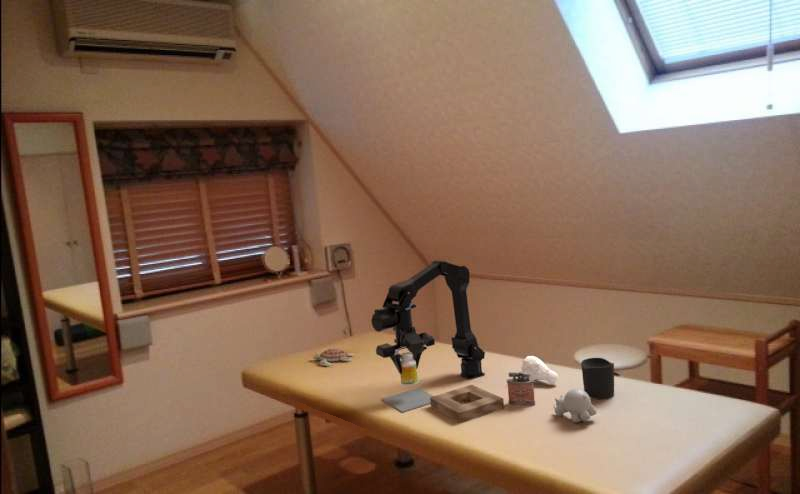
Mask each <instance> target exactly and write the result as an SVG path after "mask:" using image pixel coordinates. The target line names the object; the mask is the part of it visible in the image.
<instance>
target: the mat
mask: <svg viewBox="0 0 800 494" xmlns="http://www.w3.org/2000/svg"><path fill="white" fill-rule="evenodd" d="M433 396H434V395H433V394H432V393H429V392H427V391H426V390H424V389H421V388H420V387H417V388H413V389H410V390H406V391H402V392H400V393H396V394H393V395H390V396H386V397H382V398H381V400H382V401H383V402H384V403H386V404H388V405H389V406H391V407H393V408H394V409H395V410H398V411H399V412H401V413H402V414H403V413H406V412H410V411H412V410H416V409H419V408H421V407H424V406H429V405H431V403H430V397H433Z"/></svg>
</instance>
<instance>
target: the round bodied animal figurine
mask: <svg viewBox="0 0 800 494" xmlns="http://www.w3.org/2000/svg"><path fill="white" fill-rule="evenodd" d="M554 400H555V404H554V403H553V409H554V413H555V415H557V416H560V417H561V416H563V415H564V414H565V413H568V412H569V414H570V419H571V422H572V423H579V422H582V421H583V422H584V421H587V420H590V418H591V417H593V416H595V415H596V414H597V409H596V408H595V406H594V405H593V404H592V401H591V398H590V397H589V395H588V394H587V393H586V392H585V391H584V389H580V388H573V389H570V390H568V391H567V392H566V393H565V395H564V396H563V394H562V395H560V398H557V397H555V398H554Z"/></svg>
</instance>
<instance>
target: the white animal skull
mask: <svg viewBox="0 0 800 494" xmlns="http://www.w3.org/2000/svg"><path fill="white" fill-rule="evenodd" d="M521 364H522V366H521V371H522V372H523V373H529V379H533V380H534V381H536V380H538V381H540V380H541V381H542V380H543V381H547V384H548V385H549V386H554V385H556V383H557V382H558V381H559V375H558V374H557V373H556V372H555V371H554V370H551V369H550V368H549V367H548V366H547V365H546V364H545V363H544V362H543V361H542V359H540V358H538V357H537V356H534V355H528V356H526V357H525V358H524V359H523V360H522V363H521ZM525 378H526V377H525Z"/></svg>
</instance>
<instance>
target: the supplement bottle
mask: <svg viewBox="0 0 800 494" xmlns="http://www.w3.org/2000/svg"><path fill="white" fill-rule="evenodd" d="M400 355H401V358H400V361H401V368H402V374H400V373H399V374H400V376H399V377H400V384H401V385H402V386H405V387H411V386H415V385H417V384H418V383H419V379H418V378H419V377H418V371H417V370H418V368H416V361H415V360H414V359H413V353H412V352H410V351H408V352H407V351H406V352H403V353H401V354H400Z"/></svg>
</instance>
